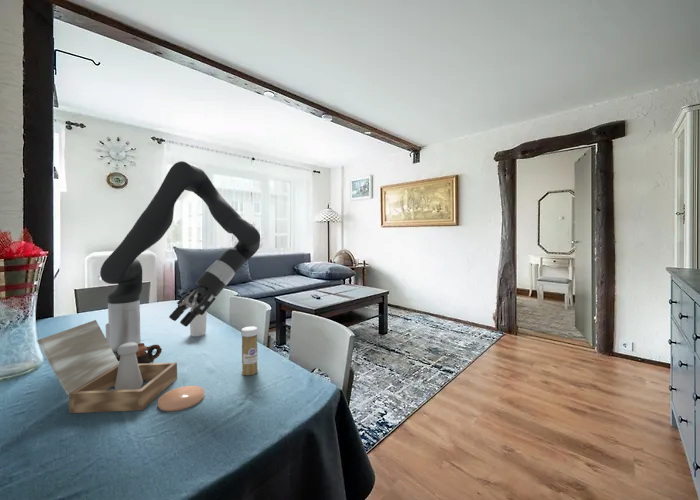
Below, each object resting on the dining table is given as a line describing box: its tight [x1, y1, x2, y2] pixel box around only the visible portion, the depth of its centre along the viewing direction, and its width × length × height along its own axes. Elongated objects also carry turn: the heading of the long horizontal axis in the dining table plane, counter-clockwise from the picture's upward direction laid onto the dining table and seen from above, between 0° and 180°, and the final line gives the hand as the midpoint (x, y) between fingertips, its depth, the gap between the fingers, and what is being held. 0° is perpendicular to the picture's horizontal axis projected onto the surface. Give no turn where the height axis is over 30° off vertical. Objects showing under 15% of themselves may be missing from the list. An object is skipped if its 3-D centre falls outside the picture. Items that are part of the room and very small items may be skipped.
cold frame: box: [36, 319, 178, 414], centre depth 76 cm, size 22×16×17 cm
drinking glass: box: [189, 309, 208, 337], centre depth 124 cm, size 7×7×10 cm
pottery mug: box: [115, 342, 163, 364], centre depth 93 cm, size 12×10×8 cm
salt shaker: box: [114, 342, 144, 390], centre depth 76 cm, size 6×6×13 cm
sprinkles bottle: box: [240, 325, 259, 376], centre depth 88 cm, size 5×5×14 cm
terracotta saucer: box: [157, 385, 205, 412], centre depth 74 cm, size 10×10×1 cm
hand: (177, 322), depth 85 cm, fingers open, 8 cm apart
